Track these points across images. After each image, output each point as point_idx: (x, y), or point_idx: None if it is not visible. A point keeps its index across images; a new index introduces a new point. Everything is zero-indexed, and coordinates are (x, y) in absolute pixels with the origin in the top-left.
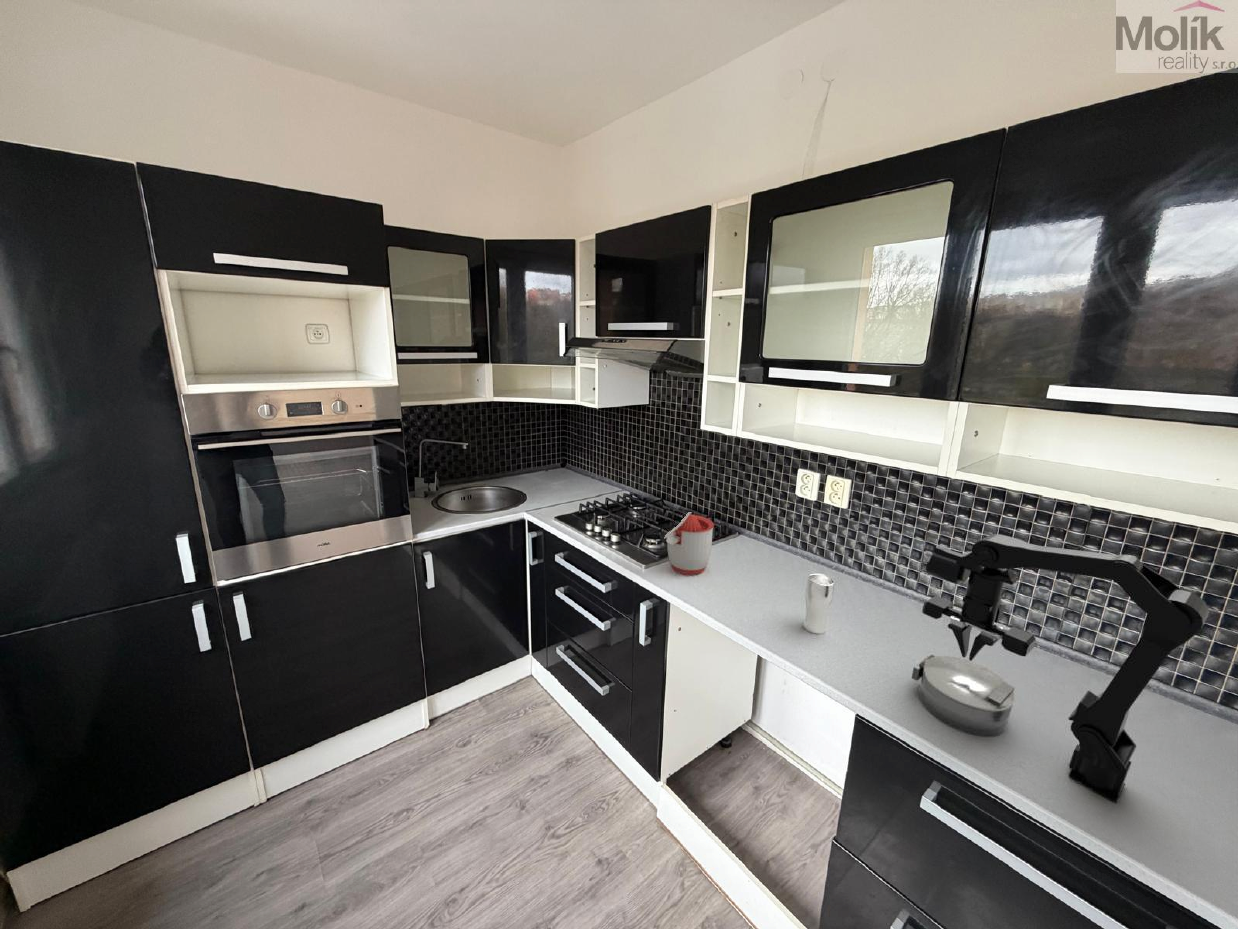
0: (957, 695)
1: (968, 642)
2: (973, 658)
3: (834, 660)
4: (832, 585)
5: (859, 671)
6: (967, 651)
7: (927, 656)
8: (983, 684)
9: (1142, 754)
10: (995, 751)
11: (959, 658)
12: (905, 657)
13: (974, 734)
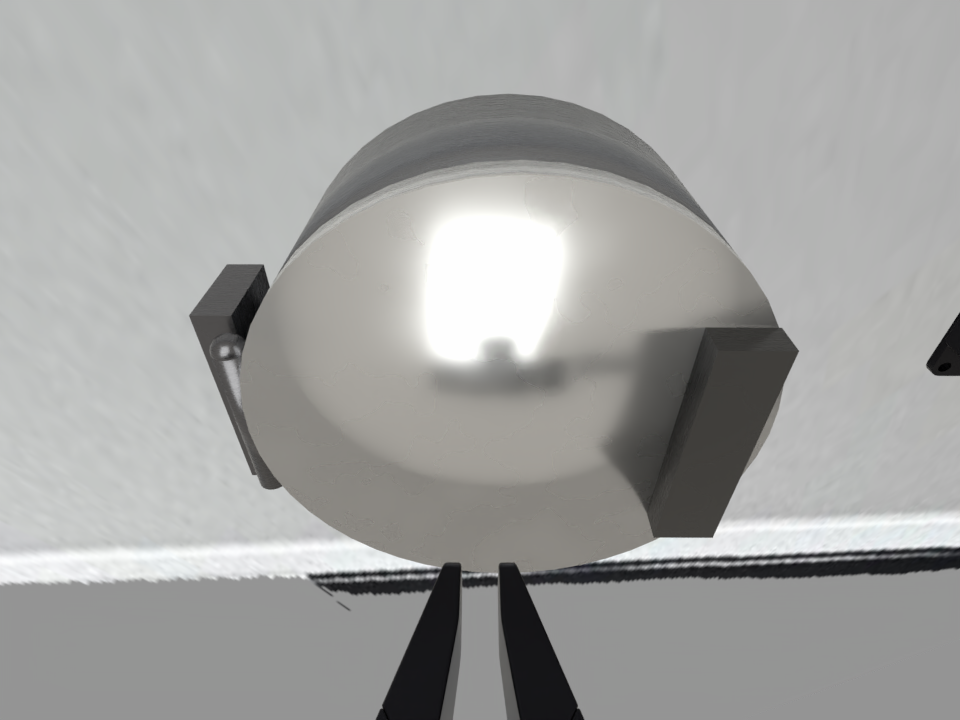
0: (523, 561)
1: (443, 716)
2: (520, 579)
3: (7, 443)
4: None
5: (111, 425)
6: (459, 608)
7: (192, 322)
8: (598, 403)
9: None
10: None
11: (346, 231)
12: (33, 97)
13: None
